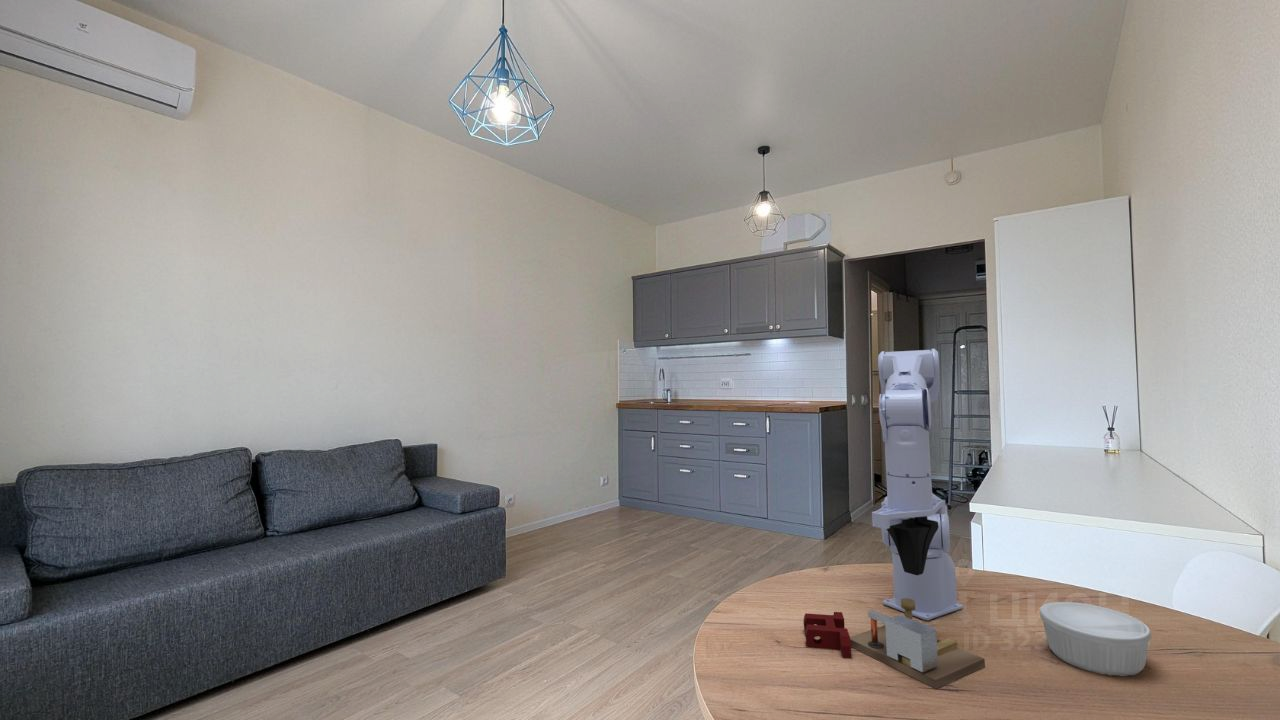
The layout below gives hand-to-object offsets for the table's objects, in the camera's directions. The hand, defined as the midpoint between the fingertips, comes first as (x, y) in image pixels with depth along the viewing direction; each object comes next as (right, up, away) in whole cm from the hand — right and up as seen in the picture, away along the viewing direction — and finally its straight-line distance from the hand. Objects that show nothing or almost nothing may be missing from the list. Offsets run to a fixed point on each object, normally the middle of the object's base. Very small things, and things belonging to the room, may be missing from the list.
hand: (913, 572), depth 76 cm
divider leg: (-5, -8, -6) cm, 11 cm away
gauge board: (-2, -10, -3) cm, 10 cm away
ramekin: (+21, -9, -5) cm, 24 cm away
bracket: (-12, -11, +2) cm, 16 cm away
